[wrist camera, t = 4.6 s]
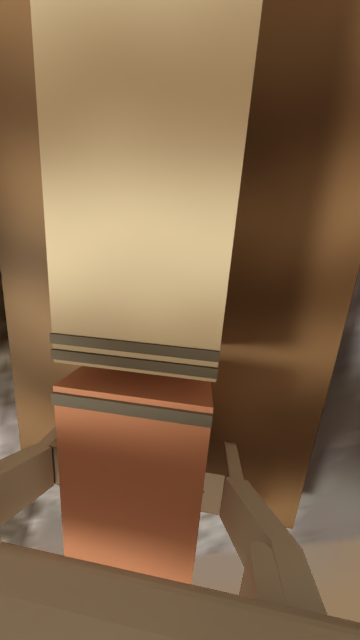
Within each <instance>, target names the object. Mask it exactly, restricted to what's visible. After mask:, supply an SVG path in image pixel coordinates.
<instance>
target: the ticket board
mask: <svg viewBox="0 0 360 640" xmlns="http://www.w3.org/2000/svg"><path fill="white" fill-rule="evenodd" d="M359 268H360V0H0V269H1V278H2V287H3V295H4V304H5V313H6V322H7V330H8V339H9V348H10V357H11V365H12V374H13V383H14V392H15V400H16V409H17V418H18V427H19V435H20V444H21V450H22V449H24V448H26V447H29V446H31V445H33V444H38V443H39V442H40V441H41V440H42V439H43V438H44V437H45V436H46V435H47V434H48V433H49V432H50V431H51V430H52V429H53V428H54V427H55V426H56V425H55V410H54V405H52V404H51V393H52V392H53V385H55V384H56V383H58V382H59V381H60V380H62V379H63V378H65V377H66V376H68V375H69V374H71V373H72V372H73V371H75V370H76V369H78V368H79V367H81V366H89V367H97V368H105V369H113V370H121V371H129V372H137V373H145V374H154V375H162V376H170V377H178V378H186V379H194V380H202V381H210V382H211V388H212V399H213V419H212V427H211V431H210V439H209V440H214V441H221V442H229V443H235V444H236V446H237V450H238V455H239V460H240V464H241V469H242V473H243V478H244V480H248V481H249V483H250V484H251V485H252V486H253V488H254V489H255V490H256V491H257V493H258V494H259V495H260V496H261V498H262V499H263V500H264V501H265V503H266V504H267V505H268V506H269V508H270V509H271V510H272V511H273V513H274V514H275V515H276V516H277V518H278V519H279V520H280V521H281V523H282V524H283V525H284V526H285V528H291V529H293V525H294V521H295V517H296V514H297V510H298V506H299V502H300V498H301V494H302V490H303V486H304V482H305V478H306V475H307V471H308V467H309V463H310V459H311V455H312V451H313V447H314V443H315V439H316V435H317V432H318V428H319V424H320V420H321V416H322V412H323V408H324V404H325V400H326V396H327V393H328V389H329V385H330V381H331V377H332V373H333V369H334V365H335V361H336V357H337V354H338V350H339V346H340V342H341V338H342V334H343V330H344V326H345V322H346V318H347V314H348V311H349V307H350V303H351V299H352V295H353V291H354V287H355V283H356V279H357V275H358V272H359ZM54 484H55V483H54ZM58 485H60V484H58ZM201 512H206V511H201ZM206 513H210V512H206ZM211 514H215V513H211ZM217 515H219V514H217Z"/></svg>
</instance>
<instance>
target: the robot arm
mask: <svg viewBox="0 0 360 640" xmlns="http://www.w3.org/2000/svg"><path fill="white" fill-rule="evenodd" d="M54 483H55V484H60V483H59V469H58V454H57V440H56V426H55V427H54V428H53V429H52V430H51V431H50V432H49V433H48V434H47V435H46V436H45V437H44V438H43V439H42V440H41V441H40V442H39V443H38V444H33V445H31V446H29V447H26V448H24V449H22V450H20V451H18V452H16V453H14V454H12V455H10V456H8V457H5V458H3V459H1V460H0V527H1V526H2V525H3V524H5V523H6V522H7V521H8V520H10V519H11V518H12V517H14V516H15V515H16V514H17V513H19V512H20V511H21V510H23V509H24V508H25V507H26V506H28V505H29V504H30V503H32V502H33V501H34V500H35V499H37V498H38V497H39V496H41V495H42V494H43V493H44V492H46V491H47V490H48V489H50V488H51V487H52V486H53V485H54ZM201 511H206V512H210V513H215V514H219V515H220V518H221V520H222V522H223V524H224V526H225V528H226V530H227V532H228V534H229V536H230V538H231V541H232V543H233V545H234V547H235V549H236V551H237V553H238V555H239V557H240V559H241V561H242V563H243V565H244V567H245V568H244V573H243V578H242V582H241V588H240V592H239V595H235V594H231V593H227V592H222V591H218V590H213V589H209V588H205V587H200V586H195V585H191V584H187V583H182V582H178V581H174V580H169V579H165V578H160V577H156V576H152V575H147V574H143V573H138V572H134V571H130V570H125V569H121V568H116V567H112V566H107V565H103V564H99V563H94V562H90V561H85V560H81V559H76V558H72V557H67V556H63V555H58V554H54V553H49V552H45V551H41V550H36V549H32V548H27V547H23V546H18V545H14V544H10V543H5V542H1V536H0V640H360V623H359V622H355V621H351V620H346V619H342V618H337V617H332V616H328V615H327V613H326V610H325V607H324V604H323V602H322V599H321V597H320V594H319V591H318V588H317V586H316V583H315V581H314V578H313V576H312V573H311V570H310V567H309V565H308V562H307V559H306V557H305V554H304V552H303V549H302V548H301V547H300V545H299V544H298V543H297V542H296V540H295V539H294V538H293V536H292V535H291V534H290V533H289V531H288V530H287V529H286V528H285V526H284V525H283V524H282V523H281V521H280V520H279V519H278V518H277V516H276V515H275V514H274V513H273V511H272V510H271V509H270V508H269V506H268V505H267V504H266V503H265V501H264V500H263V499H262V498H261V496H260V495H259V494H258V493H257V491H256V490H255V489H254V488H253V486H252V485H251V484H250V483H249V481H248V480H244V478H243V473H242V469H241V464H240V460H239V455H238V450H237V446H236V444H235V443H229V442H221V441H214V440H209V447H208V455H207V463H206V472H205V480H204V488H203V496H202V504H201Z"/></svg>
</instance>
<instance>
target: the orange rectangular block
mask: <svg viewBox="0 0 360 640" xmlns="http://www.w3.org/2000/svg"><path fill="white" fill-rule="evenodd" d="M51 404H52V405H54V410H55V425H56V440H57V454H58V469H59V483H60V498H61V512H62V527H63V542H64V556H67V557H72V558H76V559H81V560H85V561H90V562H94V563H99V564H103V565H107V566H112V567H116V568H121V569H125V570H130V571H134V572H138V573H143V574H147V575H152V576H156V577H160V578H165V579H169V580H174V581H178V582H182V583H187V584H191V585H192V577H193V569H194V561H195V553H196V545H197V536H198V528H199V520H200V512H201V504H202V496H203V488H204V480H205V472H206V463H207V455H208V447H209V439H210V431H211V427H212V419H213V399H212V388H211V382H210V381H202V380H194V379H186V378H178V377H170V376H162V375H154V374H145V373H137V372H129V371H121V370H113V369H105V368H97V367H89V366H81V367H79V368H78V369H76V370H75V371H73V372H72V373H71V374H69V375H68V376H66V377H65V378H63V379H62V380H60V381H59V382H58V383H56V384H55V385H53V392H52V393H51Z"/></svg>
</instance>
